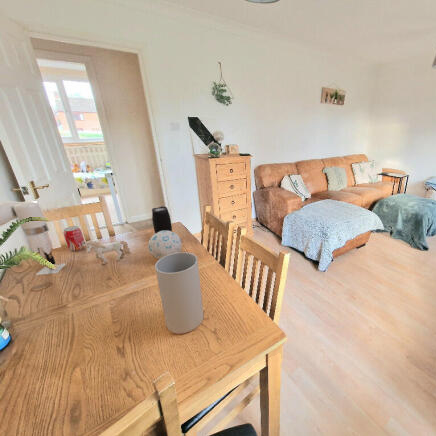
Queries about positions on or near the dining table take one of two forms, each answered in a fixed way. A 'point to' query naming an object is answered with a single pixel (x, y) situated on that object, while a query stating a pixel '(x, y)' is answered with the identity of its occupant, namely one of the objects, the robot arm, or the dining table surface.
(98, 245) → the unicorn figurine
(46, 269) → the grey square slab
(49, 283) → the cork coaster
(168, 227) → the portable speaker
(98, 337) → the dining table surface
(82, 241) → the soda can
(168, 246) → the puzzle ball
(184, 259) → the cylinder vase
